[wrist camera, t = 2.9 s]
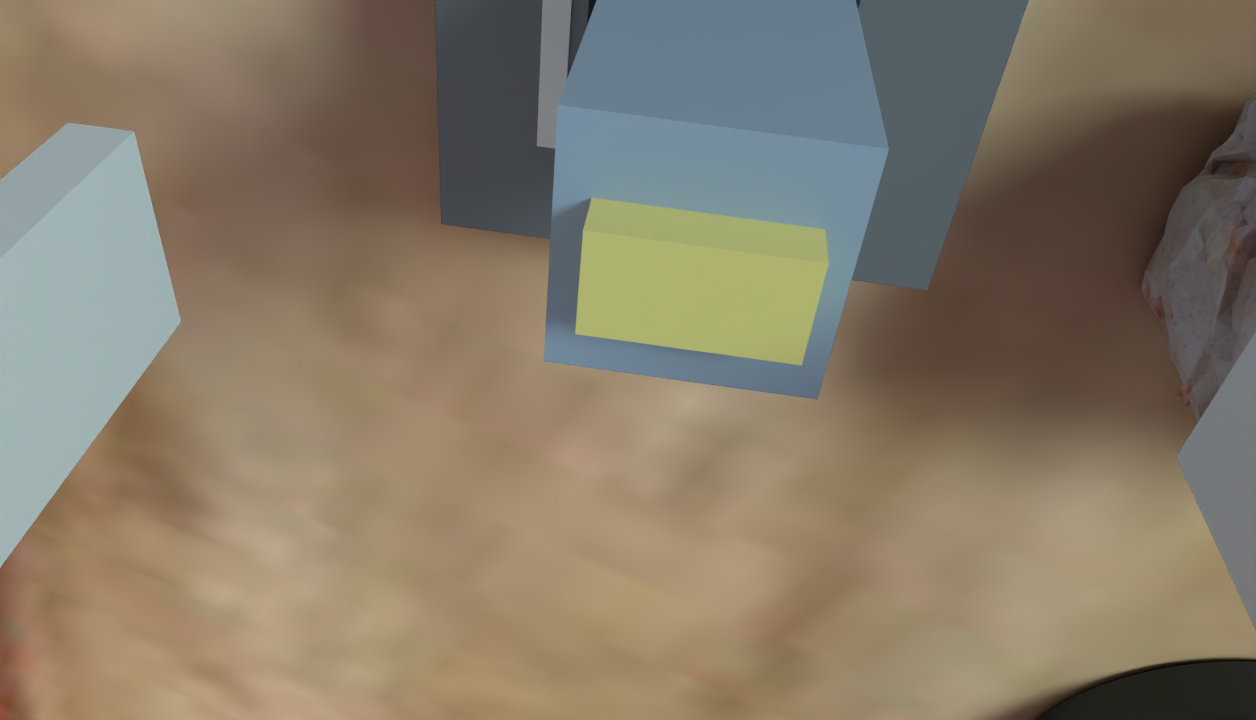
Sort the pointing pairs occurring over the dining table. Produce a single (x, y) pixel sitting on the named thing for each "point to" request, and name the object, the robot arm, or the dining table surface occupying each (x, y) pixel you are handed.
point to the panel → (902, 72)
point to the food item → (1209, 268)
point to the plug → (712, 190)
